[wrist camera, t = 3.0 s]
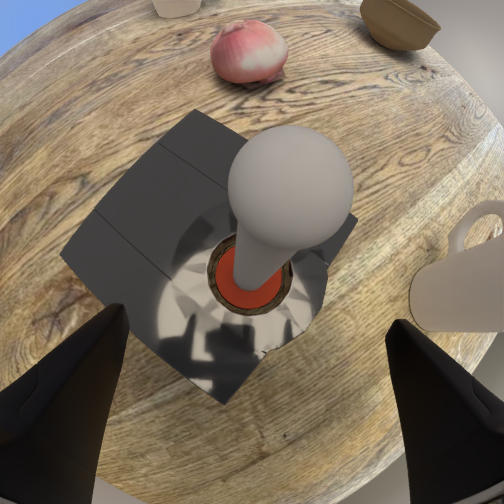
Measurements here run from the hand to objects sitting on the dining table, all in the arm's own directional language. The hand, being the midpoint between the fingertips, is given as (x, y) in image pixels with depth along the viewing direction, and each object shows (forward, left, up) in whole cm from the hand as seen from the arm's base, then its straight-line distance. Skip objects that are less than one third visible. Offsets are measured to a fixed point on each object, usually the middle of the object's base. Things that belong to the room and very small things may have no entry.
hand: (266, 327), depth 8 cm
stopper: (+3, +2, -11) cm, 12 cm away
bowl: (+47, +7, -12) cm, 48 cm away
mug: (+13, -12, -11) cm, 21 cm away
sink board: (+3, +6, -11) cm, 13 cm away
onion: (+20, +15, -11) cm, 27 cm away
